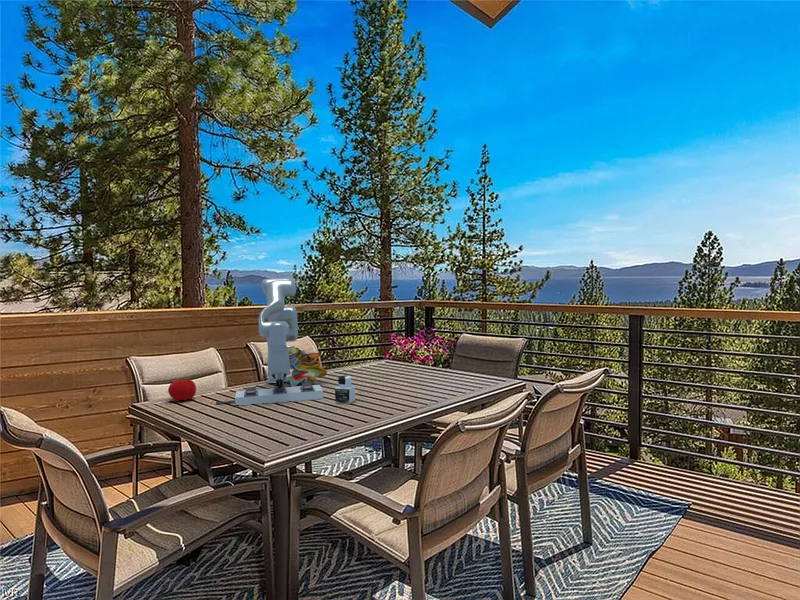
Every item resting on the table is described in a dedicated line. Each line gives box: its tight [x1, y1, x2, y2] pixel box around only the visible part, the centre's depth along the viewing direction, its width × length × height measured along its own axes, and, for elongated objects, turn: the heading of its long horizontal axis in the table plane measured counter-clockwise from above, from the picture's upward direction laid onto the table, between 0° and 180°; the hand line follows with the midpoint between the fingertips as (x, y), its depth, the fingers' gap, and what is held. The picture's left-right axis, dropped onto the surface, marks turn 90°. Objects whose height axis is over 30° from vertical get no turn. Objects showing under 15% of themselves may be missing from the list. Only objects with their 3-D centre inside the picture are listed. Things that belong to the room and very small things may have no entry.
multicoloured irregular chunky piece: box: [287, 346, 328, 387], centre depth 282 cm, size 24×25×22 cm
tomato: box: [167, 377, 197, 401], centre depth 254 cm, size 13×12×11 cm
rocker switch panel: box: [215, 384, 324, 406], centre depth 249 cm, size 14×49×5 cm, turn 106°
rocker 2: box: [301, 382, 313, 391], centre depth 251 cm, size 7×4×2 cm, turn 16°
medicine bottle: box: [334, 375, 356, 405], centre depth 242 cm, size 7×7×12 cm
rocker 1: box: [245, 386, 257, 395], centre depth 244 cm, size 7×4×2 cm, turn 16°
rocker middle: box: [273, 386, 285, 392], centre depth 248 cm, size 7×4×2 cm, turn 15°
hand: (279, 387), depth 245 cm, fingers closed
